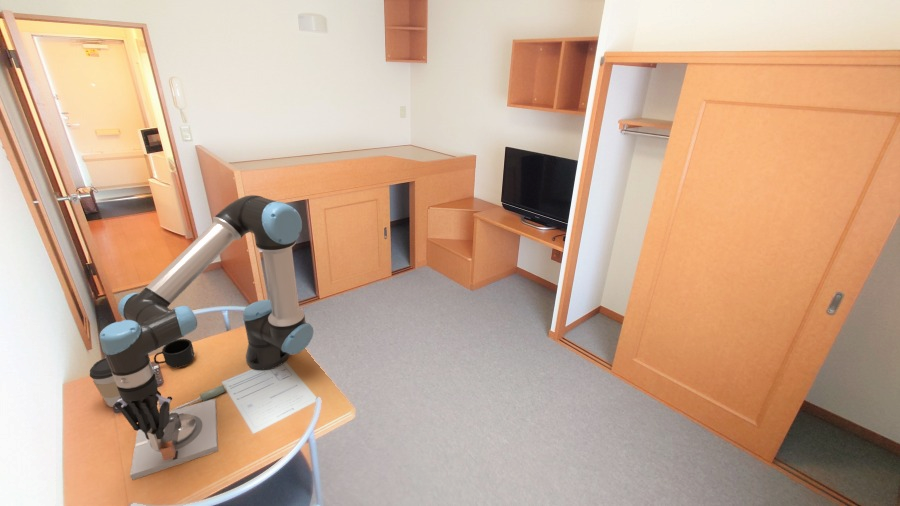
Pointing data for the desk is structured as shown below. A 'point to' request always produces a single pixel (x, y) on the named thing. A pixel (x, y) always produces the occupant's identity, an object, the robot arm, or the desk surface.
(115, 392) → the coffee cup
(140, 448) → the plate
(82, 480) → the desk surface
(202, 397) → the screwdriver
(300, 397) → the desk surface
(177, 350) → the mug
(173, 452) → the dial
